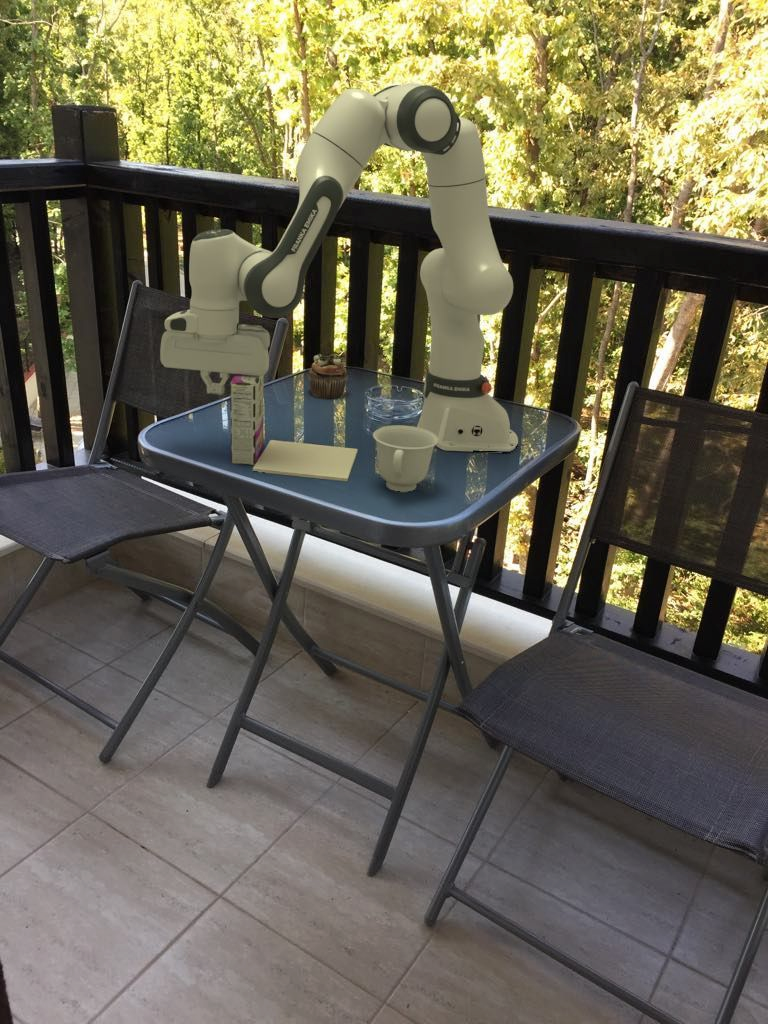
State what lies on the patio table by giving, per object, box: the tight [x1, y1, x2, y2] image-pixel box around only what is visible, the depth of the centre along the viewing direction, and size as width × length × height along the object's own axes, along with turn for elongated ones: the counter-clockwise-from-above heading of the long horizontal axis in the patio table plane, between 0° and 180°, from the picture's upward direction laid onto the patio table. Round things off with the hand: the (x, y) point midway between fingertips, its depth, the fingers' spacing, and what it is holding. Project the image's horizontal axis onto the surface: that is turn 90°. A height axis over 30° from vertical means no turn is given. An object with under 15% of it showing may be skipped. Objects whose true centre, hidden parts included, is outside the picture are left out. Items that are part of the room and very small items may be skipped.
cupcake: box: [307, 352, 348, 400], centre depth 208 cm, size 10×10×10 cm
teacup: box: [372, 424, 439, 493], centre depth 158 cm, size 12×15×10 cm
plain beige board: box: [252, 439, 358, 482], centre depth 169 cm, size 18×16×1 cm
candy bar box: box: [229, 374, 265, 466], centre depth 166 cm, size 11×5×16 cm, turn 179°
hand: (215, 393), depth 165 cm, fingers closed
